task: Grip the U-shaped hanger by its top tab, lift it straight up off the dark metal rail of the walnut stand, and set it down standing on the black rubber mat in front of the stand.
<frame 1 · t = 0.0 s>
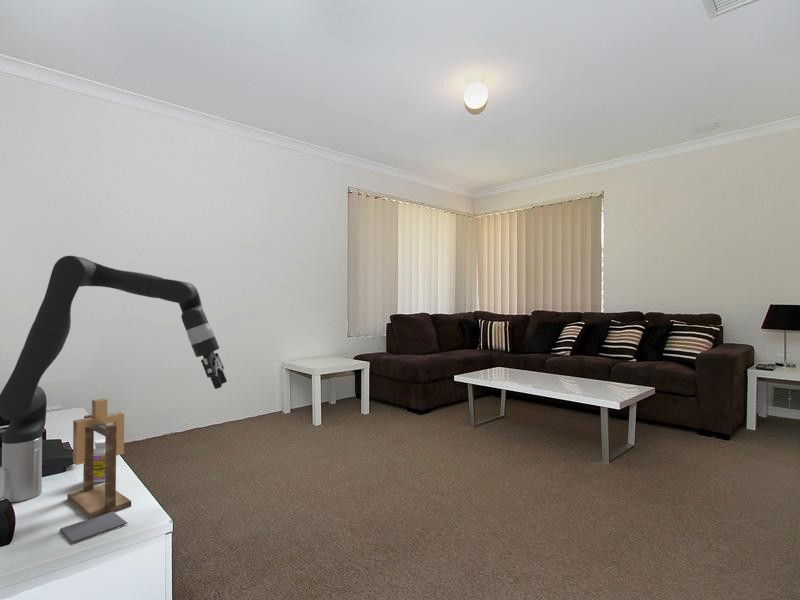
hand: (221, 385, 145), 31 cm above the table, tool tilted 20°, fingers open, 8 cm apart
mat: (94, 527, 115), on the table
supplement bottle: (102, 480, 147), on the table
hanger: (99, 458, 130), point 13 cm above the table, touching stand
stand: (98, 502, 129), on the table
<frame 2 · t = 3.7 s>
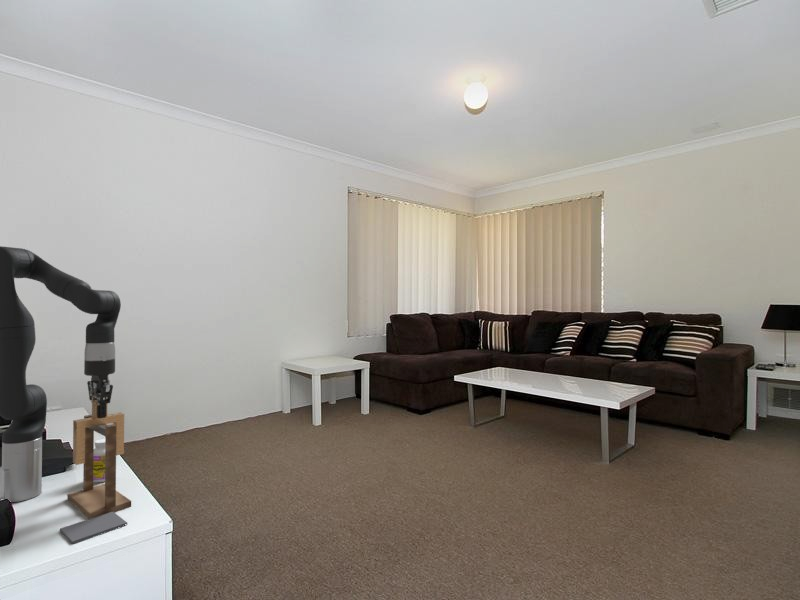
hand: (99, 416, 130), 25 cm above the table, tool pointing down, fingers closed on hanger, 3 cm apart
hanger: (99, 458, 130), point 13 cm above the table, touching gripper, stand
everything else where it was.
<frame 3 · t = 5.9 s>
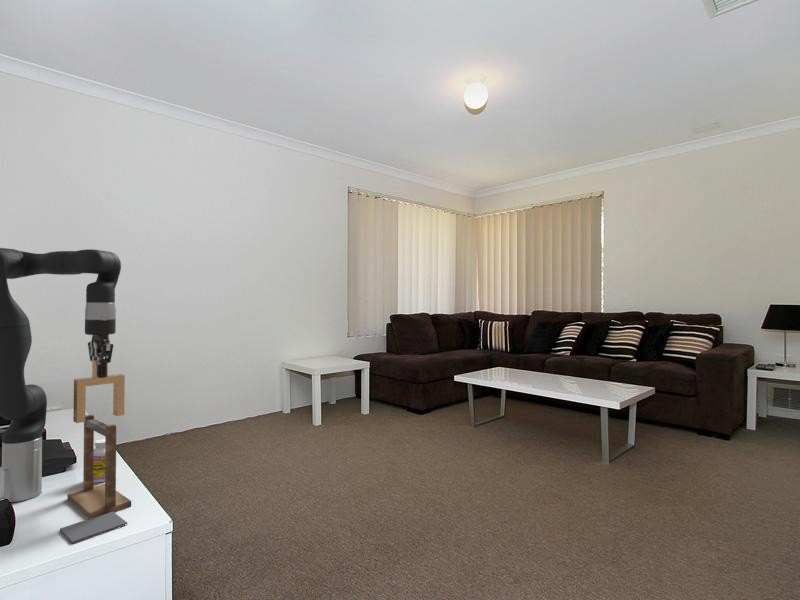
hand: (100, 376, 130), 37 cm above the table, tool pointing down, fingers closed on hanger, 3 cm apart
hanger: (99, 418, 130), point 25 cm above the table, touching gripper
everything else where it was.
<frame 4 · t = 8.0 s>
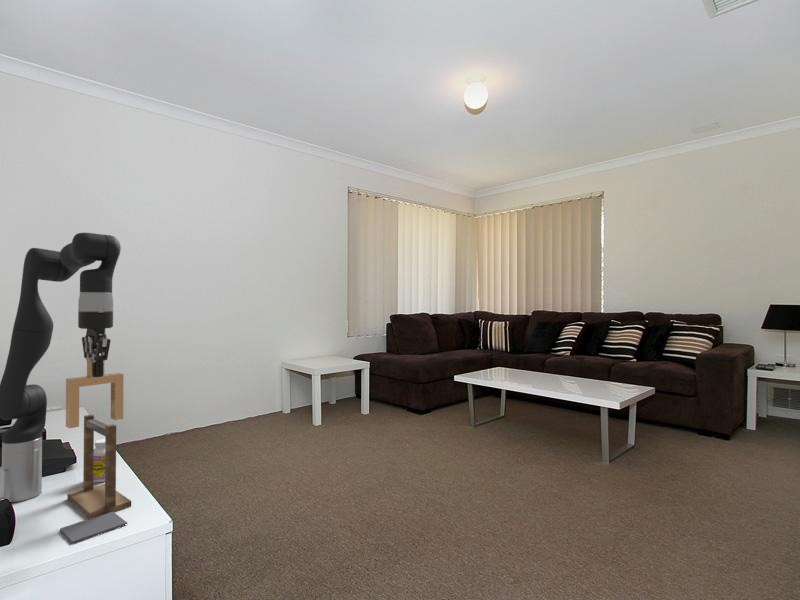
hand: (95, 375, 115), 39 cm above the table, tool pointing down, fingers closed on hanger, 3 cm apart
hanger: (95, 422, 115), point 27 cm above the table, touching gripper
everything else where it was.
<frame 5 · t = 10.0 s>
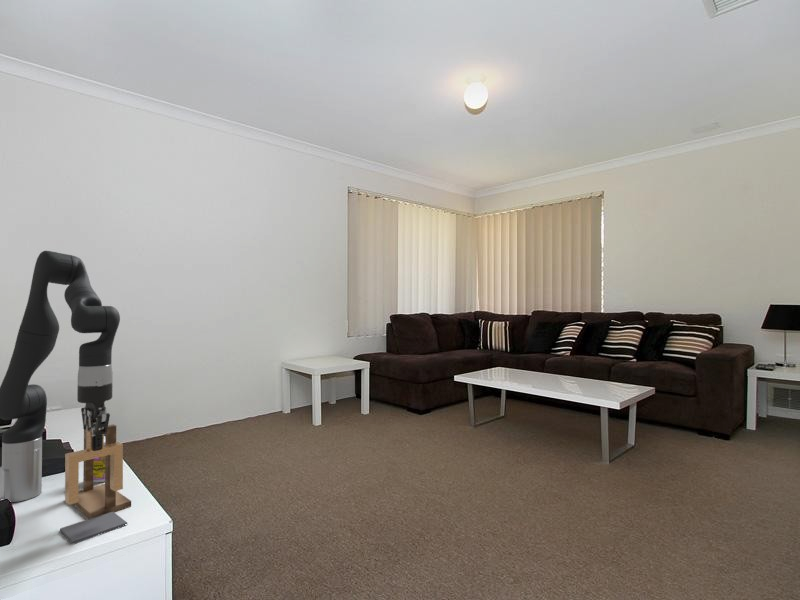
hand: (94, 448, 115), 21 cm above the table, tool pointing down, fingers closed on hanger, 3 cm apart
hanger: (94, 495, 115), point 8 cm above the table, touching gripper
everything else where it was.
when the fingers open (14 cm above the table, at t = 12.0 s): hanger drops 2 cm, resting on mat.
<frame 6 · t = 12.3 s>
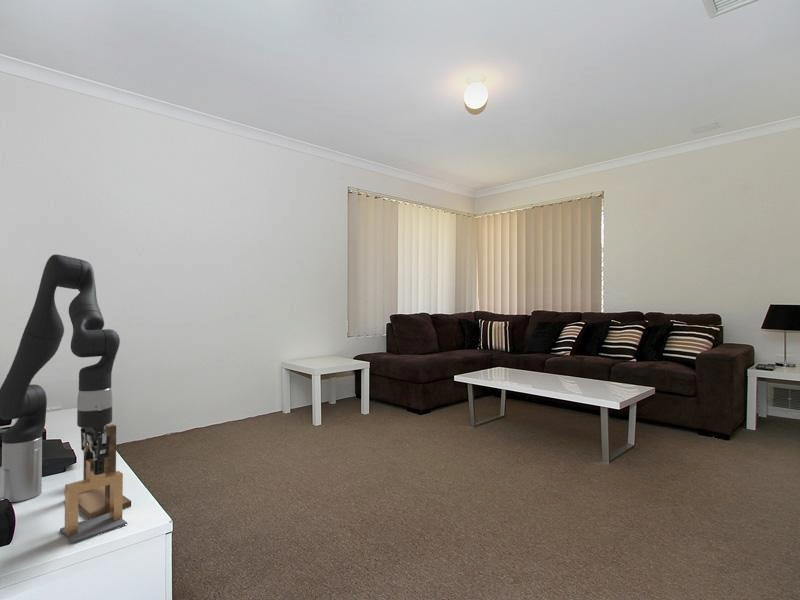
hand: (94, 470, 115), 15 cm above the table, tool pointing down, fingers open, 6 cm apart
hanger: (94, 525, 115), point 1 cm above the table, touching mat
everything else where it was.
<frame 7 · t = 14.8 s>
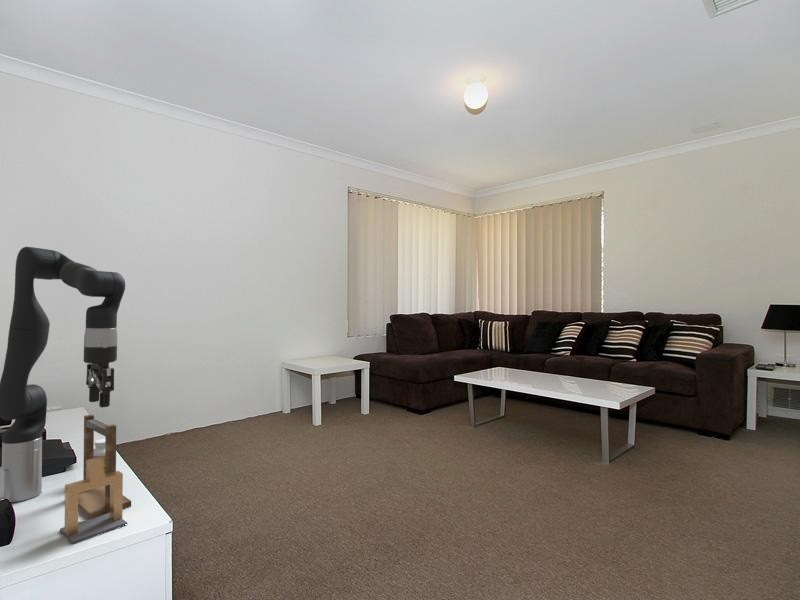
hand: (99, 404, 120), 31 cm above the table, tool pointing down, fingers open, 8 cm apart
nothing on the table moved.
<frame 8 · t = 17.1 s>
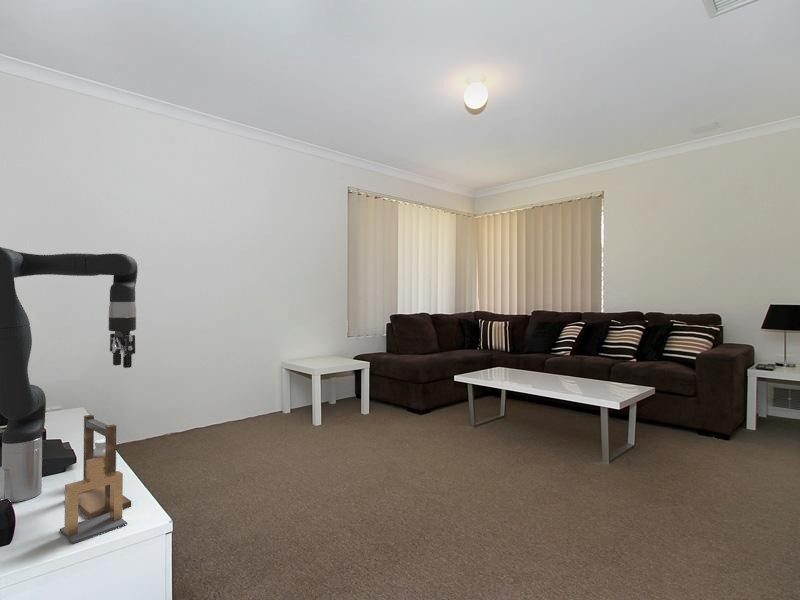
hand: (122, 366, 143), 38 cm above the table, tool pointing down, fingers open, 8 cm apart
nothing on the table moved.
at the end: hanger inside the target area on the mat (0.1 cm from its centre), point 0.6 cm above the mat's base; hanger tilted 0°; the gripper is holding nothing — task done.
